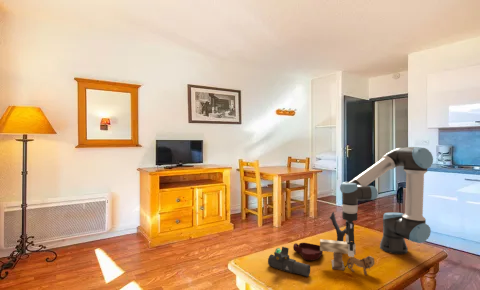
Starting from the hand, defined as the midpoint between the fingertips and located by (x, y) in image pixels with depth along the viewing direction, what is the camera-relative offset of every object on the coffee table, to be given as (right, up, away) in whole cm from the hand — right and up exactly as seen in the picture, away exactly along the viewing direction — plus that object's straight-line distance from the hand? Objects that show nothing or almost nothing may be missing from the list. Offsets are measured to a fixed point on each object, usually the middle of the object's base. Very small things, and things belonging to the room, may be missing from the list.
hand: (349, 251), depth 145 cm
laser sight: (-34, -9, -3) cm, 35 cm away
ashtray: (-17, -9, +15) cm, 25 cm away
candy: (-34, -9, +13) cm, 38 cm away
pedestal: (-6, -9, +2) cm, 11 cm away
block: (-6, -1, +2) cm, 6 cm away
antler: (+2, -9, +21) cm, 23 cm away
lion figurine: (+4, -9, -4) cm, 11 cm away
